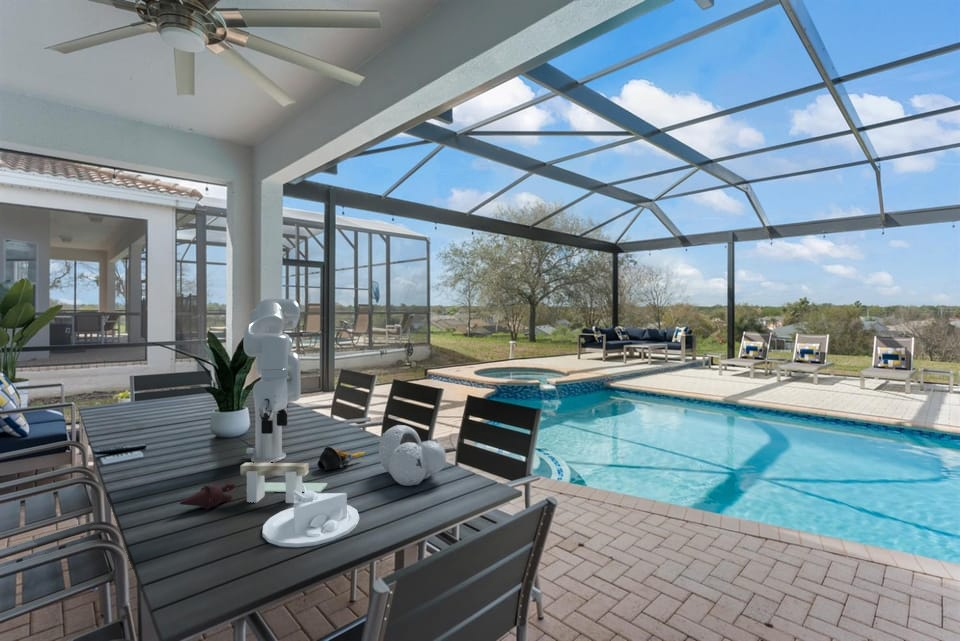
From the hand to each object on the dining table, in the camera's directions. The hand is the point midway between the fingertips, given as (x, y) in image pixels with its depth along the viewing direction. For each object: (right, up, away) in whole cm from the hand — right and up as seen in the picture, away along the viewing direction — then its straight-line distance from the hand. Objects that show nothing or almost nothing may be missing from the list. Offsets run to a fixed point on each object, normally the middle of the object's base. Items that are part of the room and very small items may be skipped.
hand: (274, 429), depth 142 cm
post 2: (+6, -22, 0) cm, 23 cm away
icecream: (-17, -22, -6) cm, 29 cm away
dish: (+18, -23, -16) cm, 33 cm away
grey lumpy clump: (+39, -22, +20) cm, 49 cm away
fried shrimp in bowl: (+12, -22, +31) cm, 40 cm away
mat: (0, -22, +9) cm, 24 cm away
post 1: (-6, -22, +1) cm, 23 cm away
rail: (0, -14, 0) cm, 14 cm away
